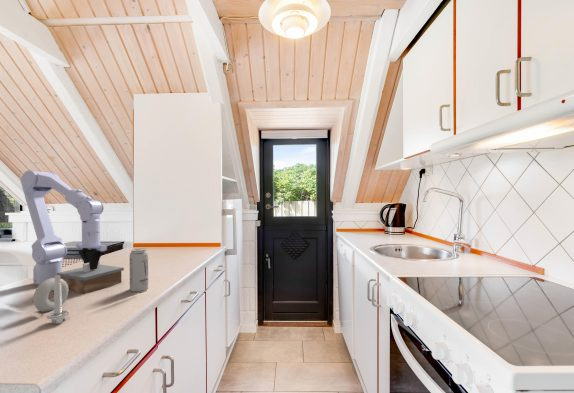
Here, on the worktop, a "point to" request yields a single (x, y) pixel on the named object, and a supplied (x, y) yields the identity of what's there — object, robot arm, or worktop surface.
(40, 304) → the donut
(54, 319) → the screw
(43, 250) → the robot arm
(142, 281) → the energy drink can
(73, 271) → the lid
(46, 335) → the worktop surface
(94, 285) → the storage box
